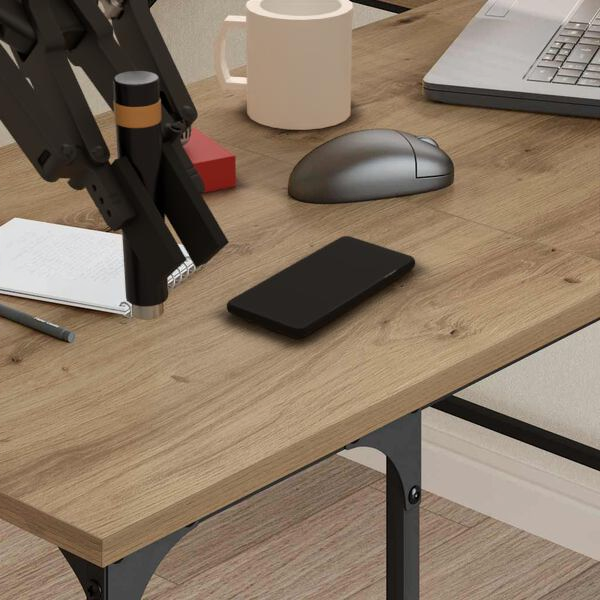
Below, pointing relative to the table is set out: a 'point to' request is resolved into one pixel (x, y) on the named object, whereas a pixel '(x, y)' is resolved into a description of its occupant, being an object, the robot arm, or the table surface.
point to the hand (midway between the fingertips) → (191, 262)
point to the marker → (141, 175)
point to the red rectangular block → (210, 160)
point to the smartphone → (320, 286)
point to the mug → (293, 62)
